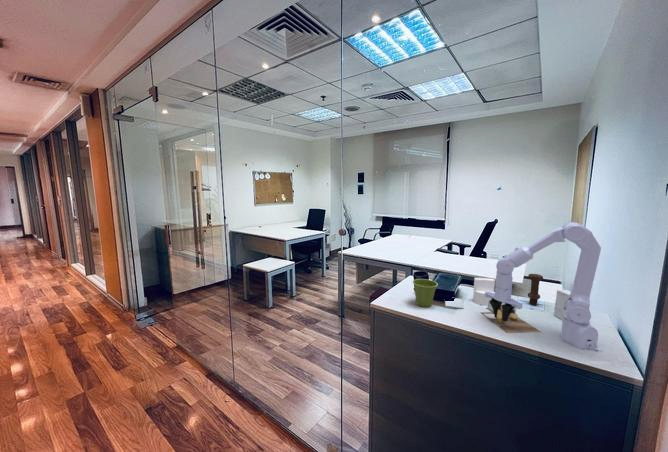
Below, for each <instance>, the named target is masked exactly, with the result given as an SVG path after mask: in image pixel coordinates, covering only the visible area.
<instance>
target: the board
mask: <svg viewBox="0 0 668 452" xmlns="http://www.w3.org/2000/svg"><path fill="white" fill-rule="evenodd" d="M485 308H486V309H485V310H487V309H488V310H489V311H490V312H480V314H481V315H482V316H484V317H485V318H486V319H488V320H489V321H491V322H492V323H493V325H495V326H497V327H498V328H499V329H500V330H502V331H504V332H505V333H506V334H514V333H515V334H516V333H517V334H518V333H528V334H529V333H542V331H541V330H539V329H538V328H536V327H535V326H533V325H531V324H529V323H528V322H527V321H525V320H523V319H522V318H520V317H519V315H518V314H517V313H516V314H514V313H512V312H511V313H510V315H509V318H508V321H505V323H506V324H507V325H505V324H504V325H500V324H498V323H496V319H497V318H495V317H494V318H493V317H488V316H487V315H490V314H491V315H492V314H493V315H494V312H493V311H492V310H490V309H489V308H488V307H485ZM486 314H487V315H486Z"/></svg>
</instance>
